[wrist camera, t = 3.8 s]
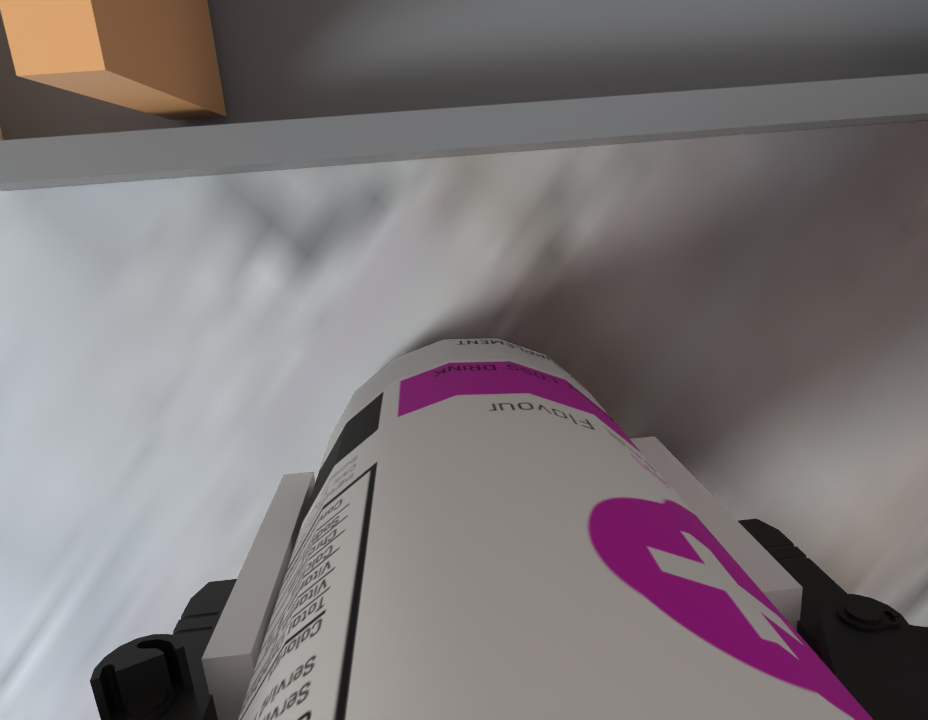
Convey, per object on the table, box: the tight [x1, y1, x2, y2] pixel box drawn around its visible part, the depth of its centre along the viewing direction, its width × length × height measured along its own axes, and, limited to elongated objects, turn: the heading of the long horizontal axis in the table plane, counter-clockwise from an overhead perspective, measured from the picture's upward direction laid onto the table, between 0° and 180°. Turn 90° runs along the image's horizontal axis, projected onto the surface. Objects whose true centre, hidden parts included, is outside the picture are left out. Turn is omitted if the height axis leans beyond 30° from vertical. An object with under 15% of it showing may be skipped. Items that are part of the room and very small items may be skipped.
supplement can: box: [238, 338, 873, 720], centre depth 12 cm, size 8×8×15 cm
